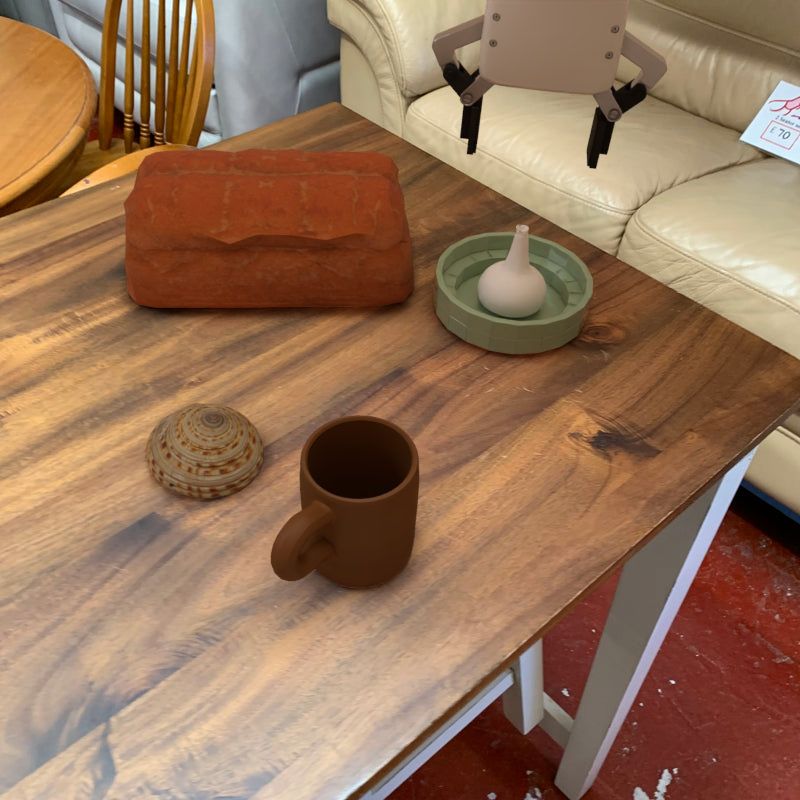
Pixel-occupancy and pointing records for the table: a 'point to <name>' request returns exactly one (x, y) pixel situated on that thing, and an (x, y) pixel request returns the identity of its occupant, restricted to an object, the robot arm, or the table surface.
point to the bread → (267, 230)
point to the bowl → (509, 334)
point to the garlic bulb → (513, 282)
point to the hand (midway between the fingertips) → (531, 153)
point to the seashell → (205, 451)
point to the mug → (352, 505)
